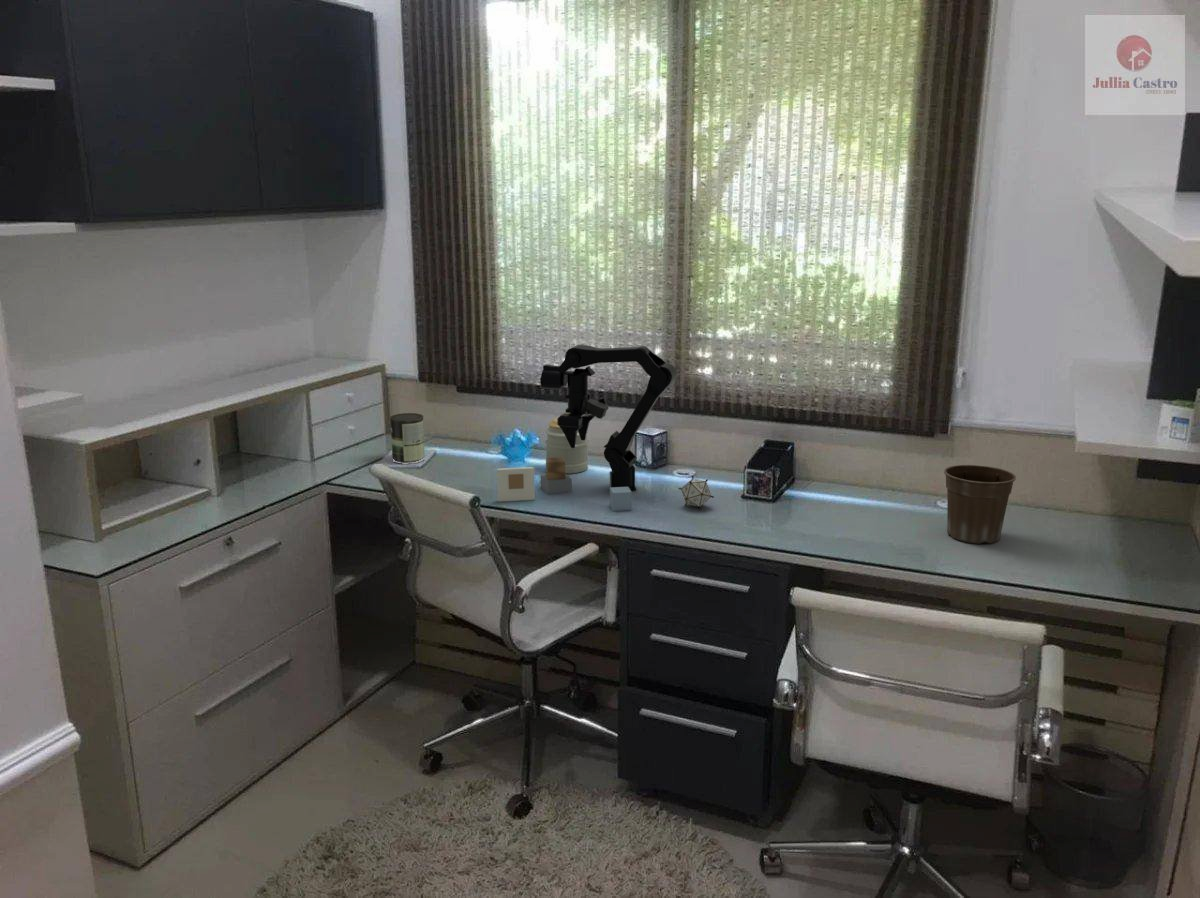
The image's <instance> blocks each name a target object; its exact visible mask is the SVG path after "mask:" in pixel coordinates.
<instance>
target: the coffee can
mask: <svg viewBox="0 0 1200 898" xmlns="http://www.w3.org/2000/svg"><path fill="white" fill-rule="evenodd" d="M389 420H390V421H389V423H390V438H391V439H390V441H391V457H392V458H393V459H394V460H395V461H397V462H401V463H412V462H416V461H419V460H421V459H423V458H424V457H425V458H426V455H425V453H426V452H425V438H424V437H425V435H424V432H425V431H424V415H423V414H421V413H414V412H408V413H406V412H405V413H397V414H393V415H391V416H389ZM392 458H391V459H392Z"/></svg>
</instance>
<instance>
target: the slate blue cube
mask: <svg viewBox="0 0 1200 898" xmlns="http://www.w3.org/2000/svg"><path fill="white" fill-rule="evenodd" d="M632 494H633V493H632V490H630V489H629V487H611V486H610V487H609V507H610V508H611V510H612V511H613V512H615V511H617V512H618V511H631V510H632V509H633V508H632V503H633V501H632V496H633V495H632Z"/></svg>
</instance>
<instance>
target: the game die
mask: <svg viewBox="0 0 1200 898" xmlns="http://www.w3.org/2000/svg"><path fill="white" fill-rule="evenodd" d="M694 477H695V476H693V475H691V479H689V481H688V482H686V484H685V485H683V486H682V487H678V490H679V491H681V493H682V496H683V497H684V498H683V499H684V501H685V504H684V507H686V506H688V505H689V506H693V507H697V508H698V510H699V511H701V510H702V508H701V507H702V506H703V505H704V504H705V503H706V502H708V500H709V499H711V498H713V499H714V498H715V496H714V495H712V494H711V492H710V488H709V485H708V483H707V482H708V480H709V479H708V478H707V479H705V480H702V479H697V478H694Z"/></svg>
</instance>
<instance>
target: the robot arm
mask: <svg viewBox="0 0 1200 898" xmlns="http://www.w3.org/2000/svg"><path fill="white" fill-rule="evenodd" d="M629 362H630V363H632V362H633V363H638V364H639V366H640V367H641V368H642V369H643V371H644V372H645V374H647V375H648V376H649V380H648V383H647V386H646V390H645V392H644V394H643V396H642V397H641V399H640V400H639V402H638V404H637V405H636V406H635V408H634V410H633V412H632V413H631V415H630V416H629V418H628V420H627V422H626V423H625V425H624V426H623V428H622V430H620V432H619V430H616V431H614V432H613V433H612V434H611V435H609V438H608V440H607V443H606V444H605V445H604V446H603V448H604V451H603V456H604V459H605V461H607V462H608V465H609V467H610V470H611V471H609V486H610V488H611V487H629V489H630V490H631V491H637V487H636V467H635V466H634V465H635V464H636V463H637V459H638V457H637V456H636V454H634V453H633V451H632V450H631V448H632V446H633V443H634V439H635V436H636V434H637V432H638V431H639V429H640V428H641V426H642V424H643V423H644V422H645V420H646V419H647V417H648V415H649V414H650V412H651V410H652V409H653V407H654V406H655V404H656V403H657V401H658V399H659V398H660V396H661V395H663V393H664V392H666V390H667V389H668V388H669V386H670V385H672V384H673V382H675V380H676V379H677V376H678V372H677V369H676V367H675V366H674V365H673V364H671V363H667V362H666V361H665V360H664V359H662V358H661V357H660V356H658V355H657V354H655V353H654V352H653V351H652V350H650V349H649V348H648V347H647V346H645V345H641V346H633V347H631V346H629V347H604V348H600V347H595V346H591V345H586V344H585V345H584V344H578V345H574V346H573V347H570V348H569V349H567V351H566V352H565V355H564V360H563V361H562V362H561V364H560V365H553V364H544V365H543V367H542V371H541V375H540V378H539V382H540V386H541V388H542V389H549V390H563V389H564V387H567V394H565V399H567V407H566V408H565V412H566V413H565V412H563V413H564V414H561V415H560V416H559V418H558V417H557V418H558V419H557V425H558V426H559V427H560V428H561V429H562V431H563V433H564V434H565V436H566V438H567V440H568V442H569V445H570V447H571V448H575V445H576V438H577V431H578V432H579V435H580V438H581V440H585V438H586V436H587V434H588V433H587V430H588V431H589V426H590V424H591V423H590V422H591V421H592V420H593V419H594V418H595V417H596V418H597V419H601V420H602V419H603V417H606V415H607V411H608V410H609V404H608V401H607V398H605V397H601V398H599V399H594V398H592V394H591V392H589V386H588V385H589V377H592V376H594V375H595V374H596V372H595V371H594V370H593V369H592V368H591V365H595V364H600V363H601V364H605V363H608V364H609V363H629ZM583 367H585V368H583ZM571 369H574V370H571ZM570 370H571V371H570Z"/></svg>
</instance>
